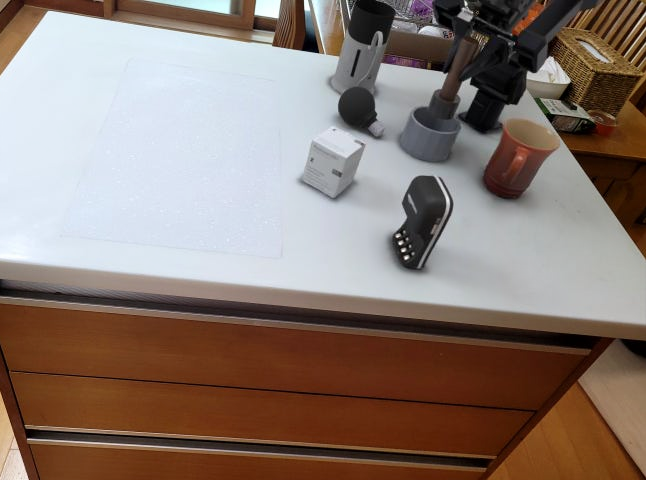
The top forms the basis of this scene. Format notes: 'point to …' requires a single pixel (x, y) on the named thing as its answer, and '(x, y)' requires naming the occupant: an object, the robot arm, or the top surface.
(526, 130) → the mug
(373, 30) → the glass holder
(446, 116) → the brown wooden pestle
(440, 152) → the grey stone mortar
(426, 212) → the battery charger
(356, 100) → the light bulb
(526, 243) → the top surface
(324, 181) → the white cardboard box
